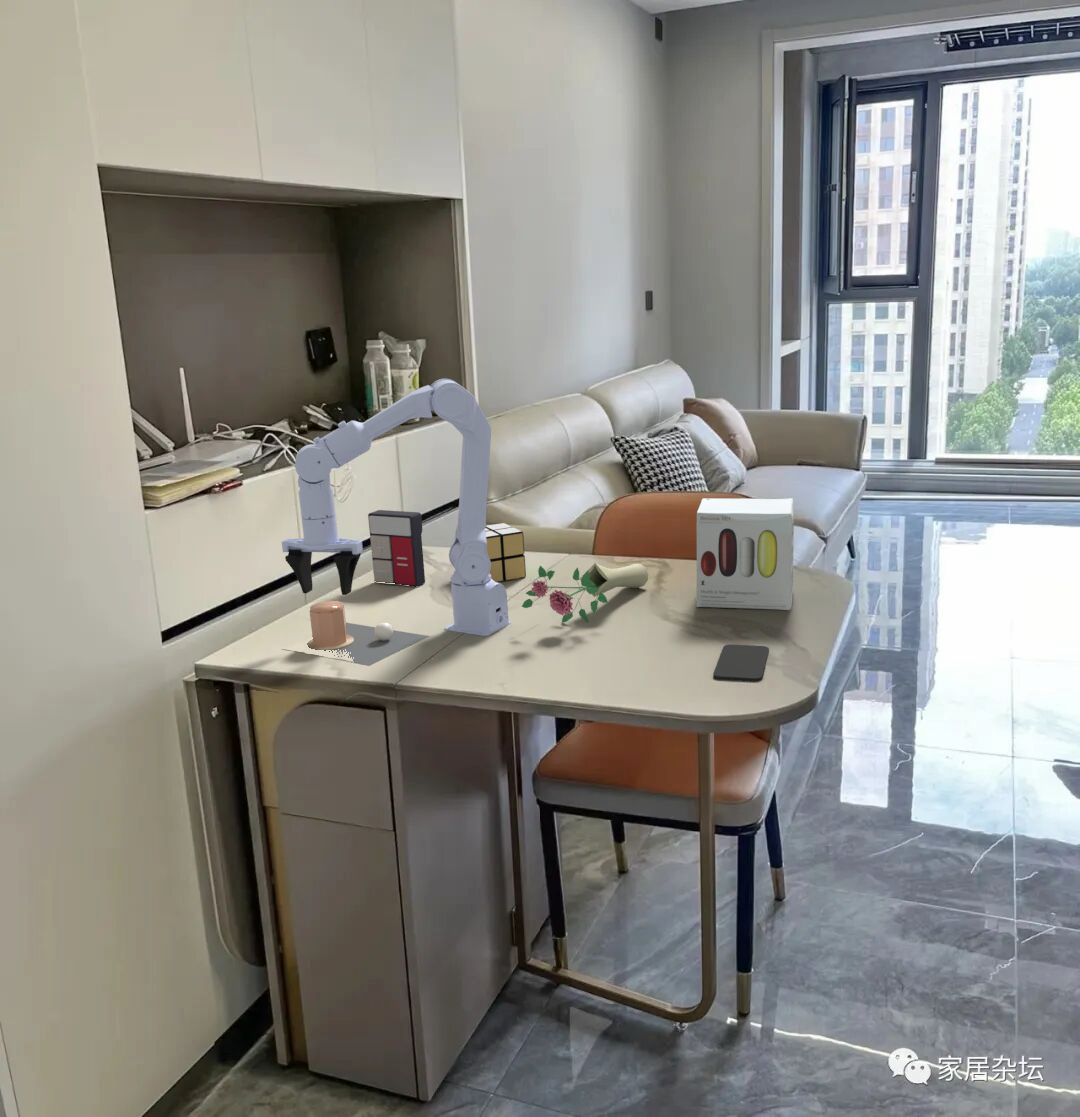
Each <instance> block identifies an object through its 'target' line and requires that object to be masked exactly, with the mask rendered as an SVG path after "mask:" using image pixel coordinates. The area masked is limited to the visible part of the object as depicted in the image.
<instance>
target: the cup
mask: <svg viewBox="0 0 1080 1117" xmlns="http://www.w3.org/2000/svg"><path fill="white" fill-rule="evenodd" d="M309 609H310V610H309V618H310V619H309V620H310V624H311V625H310V627H311V636H312V637H313V645H316V646H320V647H331V646H337V645H340V644H343V643H345V642H346V641H347V630H346V623H347V622H346V612H345V604H343V602H341V601H338V600H337V601H336V600H329V601H328V600H327V601H320V602H317V603H314V604H312V605H311V606H310V607H309Z"/></svg>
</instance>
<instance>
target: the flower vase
mask: <svg viewBox="0 0 1080 1117" xmlns="http://www.w3.org/2000/svg"><path fill="white" fill-rule="evenodd" d="M537 571H538V572H537V573H538V577H539V578H544V581H542V580H537V579H536V581H534V582H532V587H531V590H528V591H526V592H525V594H526V595H527V596H528V597H529V596H530V597H537V598H536V599H534V600H532V599H531V598H528V599H526V600H524V601H523V603H522V605H521V607H522V608H524V609H528V608H532V606H533V603H534V602H535V601H537V600H538V599H541V597H542V598H543V597H544V596H545V597H546V596H547V593H548V592H549V591H550V590H552V589H554V588H555V589H554V591H552V592H551V593H550V594H549V598H548V599H549V606H550V608H551V609H552V610H553V611H555V613H556V614H559V615H561V616H562V618H561V624H564V623H566V622H567V623H568V622H569V620H571V619H572V618H573V617H574V615H573V614H574V611H575V610H576V608H577V605H578V603H579V605H580V610H579V611H578V615H579V616H580V618H581V619H582V620H583V621H585V622H586V623H589V618H588V614H587V612H586V609H585V608H582V605H581V603H580V600H581V598H582V596H583V594H584V593H585V591H586V592H587V593H588V595H592V596H593V598H595V597H596V598H595V600H593V601H591V602H590V610H591V611H592V613H593V614H594V615H596V612H597V610H598V605H599V604H598V603H599V602H600V603H602V604H608V603H609V601H608V598H607V597H606V595H605V594H604V593H607V592H608V591H611V590H613V589H615V588H630V589H640V588H642V587H645V585H646V583H647V582H649V581H648V580H649V573H648V570H647V568H646V567H645V566H644V565H643V564H641V563H633V564H630V565H626V566H622V567H617V568H609V567H604V566H603V565H600V564H598V563H597V562H594V564H593V565H591V567H589V568H588V569H587V570H586V571H585V572H584V573H583V575H581V577H580V570H579V568H578V567H576V569H575V570H574V571H573V575H572V579H573V580H574V581H576V582H577V585H580V584H579V582H578V581H580V583H581V586H554V585H553V586H552V585H551V586H550V585H549V586H548V584H547V583H548V582H547V581H548V580H549V581H551V579H552V578H553V577H554V575H555V573H556V570H552V569H551V570H548V571H546V569H545V568H544V567H543V566H542V565H539V568H538V570H537ZM546 577H548V578H547V579H546ZM639 587H640V588H639ZM558 589H578V590H576V591H575V592H573V593H571V594H567V593H566V592H562V590H558ZM581 592H582V594H581V595H580V597H579V598H578V601H577V602H576V605H575V607H574V608H573V601H572V602H571V600H573V599H574V598H573V596H574V595H576V594H578V593H581Z"/></svg>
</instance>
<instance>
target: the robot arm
mask: <svg viewBox="0 0 1080 1117" xmlns="http://www.w3.org/2000/svg"><path fill="white" fill-rule="evenodd" d="M432 412H434V413H435V414H436V415H437V416H438V417H439V418H440V419H442V420H444V421H445V422H448V423H449V424H451V425H452V426H453V427H454V428H455V429H456V430H457V431H458V432H459V433H460V434H461V435H462V445H461V446H462V448H461V462H460V463H461V465H460V467H461V468H460V479H459V480H460V483H459V497H458V498H459V499H458V500H459V501H458V518H457V524H456V529H455V536H454V541H453V543H452V545H451V546H450V549H449V553H448V558H449V559H448V560H449V562H450V564H451V566H452V567H453V568H454V572H453V574H452V576H450V586H451V587H450V588H451V598H452V599H451V601H452V614H453V623H451V624H449V625H447V626H444V630H445V631H451V632H458V633H464V634H470V635H475V636H476V635H478V636H483V637H488V636H491V635H492V634H494V633H496V632H497V631H499V630H501V629H503V628H506V627H507V626H509V625H511V624H512V621H510V620H509V607H508V594H507V589H506V587H505V585H504V584H502V583H501V582H498V583H497V582H495V581H493V580H492V579H491V575H490V573H489V572H490V569H491V562H490V559H489V557H488V554H487V540H486V532H485V526H486V519H487V504H488V503H487V502H488V500H487V499H488V486H489V474H490V472H489V471H490V470H489V469H490V456H491V454H490V453H491V439H492V428H491V427H492V426H491V424H490V423H489V420H488V419H487V417H486V416H485V414H484V412H483V410H482V409H481V407H480V405H479V404H478V402H477V400H476V397H475V396H474V395H473V394H472V393H471V392H470V391H468V390H467V389H466V388H465V387H463V386H462V385H460V384H459V383H457V381H455V380H453V379H450V378H440V379H438V380H435V381H434V382H433V383H431V384H430V385H429V384H427V385H424V386H422V387H419V388H418V389H416V390H414V391H412V392H410V393H409V394H406V395H405V396H403V397H402V398H400V399H399V400H397V401H395V402H394V403H392V404H391V405H389V406H387V407H386V408H384V409H383V410H381V411H379V412H378V413H376V414H374V415H373V416H372V417H370V418H368V419H366V420H365V421H364V422H359V421H356V420H350V421H349V422H347V423H346V421H345V420H342V421H340V422H339V423H338V424H337V427H338V428H336V429H334V430H332V431H331V432H329V433H328V434H325V435H324V436H323V437H321V438H320V436H317V437H315V438H314V439H313V442H314V443H313V444H307V445H304V446H303V447H301V448H300V449H299V450H298V452H297V453H296V455H295V461H294V466H295V467H294V468H295V471H296V473H297V475H298V481H297V484H298V488H299V490H298V499H299V507H300V516H301V524H302V525H301V526H302V533H303V538H286V539H284V540H282V541H281V547H282V553H287V555H285V558H284V559H285V561H286V563H287V564H288V565H289V566H290V568H291V569H292V571H293V573H294V574H295V577H296V578H297V581H298V583H299V586H300V587H301V591H302V593H303V594H308V593H310V592H312V591H313V577H312V557H313V553H333V554H336V553H337V555H336V556H335V557H333V560H334V563H335V566H336V569H337V572H338V573H337V574H338V577H339V583H340V584H339V585H340V586H339V587H340V592H341V595H342V596H347V595H348V594H351V593H352V587H353V581H354V580H353V579H354V575H355V571H356V568H357V565H358V562H359V560H360V558H361V555H362V554H361V553H363V551H364V549H363V540H355V539H348V538H342V537H339V534H338V526H337V524H338V523H337V515H336V508H335V507H336V505H335V498H334V497H335V496H334V488H333V487H332V485H331V476H330V473H331V472H332V470H333V469H339V468H341V467H342V466H344V465H346V464H348V463H350V462H351V461H353V460H355V459H356V458H358V457H359V456H360V457H361V455H363V454H365V453H367V452H368V451H370V449H371V446H372V442H373V440H374V439H376V438H378V437H380V436H381V435H383V434H385V433H386V432H389V431H390V430H392V429H394V428H396V427H398V426H401V424H404V423H406V422H407V421H409V420H411V419H413V418H422V419H423V418H424V419H425V418H426V419H427V418H428V419H432V418H433V415H432Z"/></svg>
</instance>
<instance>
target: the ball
mask: <svg viewBox="0 0 1080 1117" xmlns="http://www.w3.org/2000/svg"><path fill="white" fill-rule="evenodd" d="M374 627H375V636H376V637H377V638H378V639H379V640H382V641H386V640H388V639H390V638H391V637H392V635H393V630H394V629H393V626H392V625H391V624H390V623H388V622H380V623H378V624H376V625H375V626H374Z"/></svg>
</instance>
